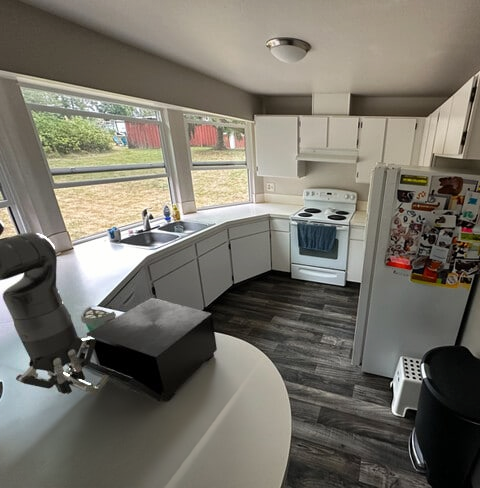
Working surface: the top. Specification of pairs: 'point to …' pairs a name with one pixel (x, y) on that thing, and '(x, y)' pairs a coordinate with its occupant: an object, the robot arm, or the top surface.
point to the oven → (156, 344)
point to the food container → (95, 318)
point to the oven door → (109, 376)
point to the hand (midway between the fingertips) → (73, 387)
